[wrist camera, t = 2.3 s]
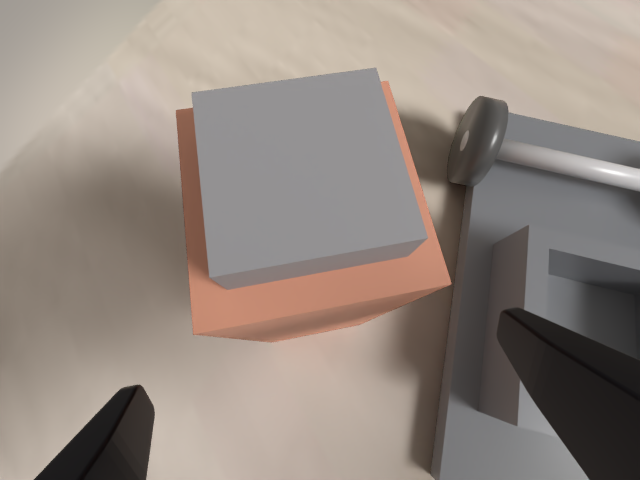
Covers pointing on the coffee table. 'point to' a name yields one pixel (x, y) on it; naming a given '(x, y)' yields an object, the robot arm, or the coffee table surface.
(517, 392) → the chassis
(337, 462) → the coffee table surface
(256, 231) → the two-tone capped block
